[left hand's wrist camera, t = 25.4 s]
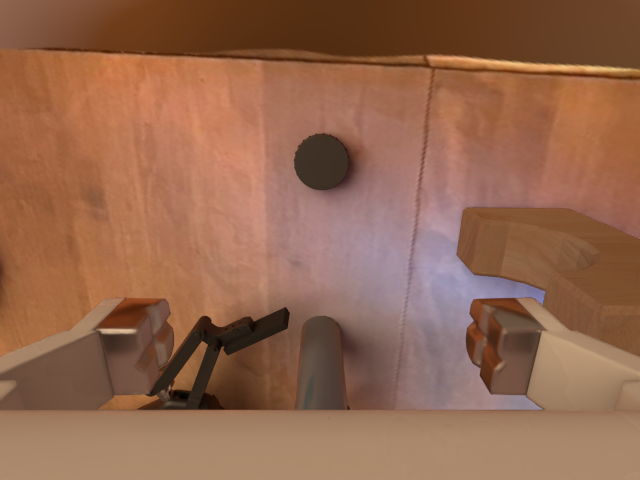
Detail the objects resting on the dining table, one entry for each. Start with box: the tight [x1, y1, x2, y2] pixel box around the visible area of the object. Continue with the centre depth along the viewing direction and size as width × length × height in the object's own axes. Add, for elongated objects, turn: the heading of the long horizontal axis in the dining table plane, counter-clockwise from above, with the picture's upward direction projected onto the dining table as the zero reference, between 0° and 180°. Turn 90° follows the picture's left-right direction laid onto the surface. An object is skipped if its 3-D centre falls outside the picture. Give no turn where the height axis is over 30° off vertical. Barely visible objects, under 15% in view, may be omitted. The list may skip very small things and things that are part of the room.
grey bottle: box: [295, 316, 348, 410], centre depth 35 cm, size 5×5×17 cm
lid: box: [294, 133, 349, 190], centre depth 36 cm, size 5×5×2 cm
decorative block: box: [457, 208, 640, 356], centre depth 30 cm, size 11×6×20 cm, turn 88°
